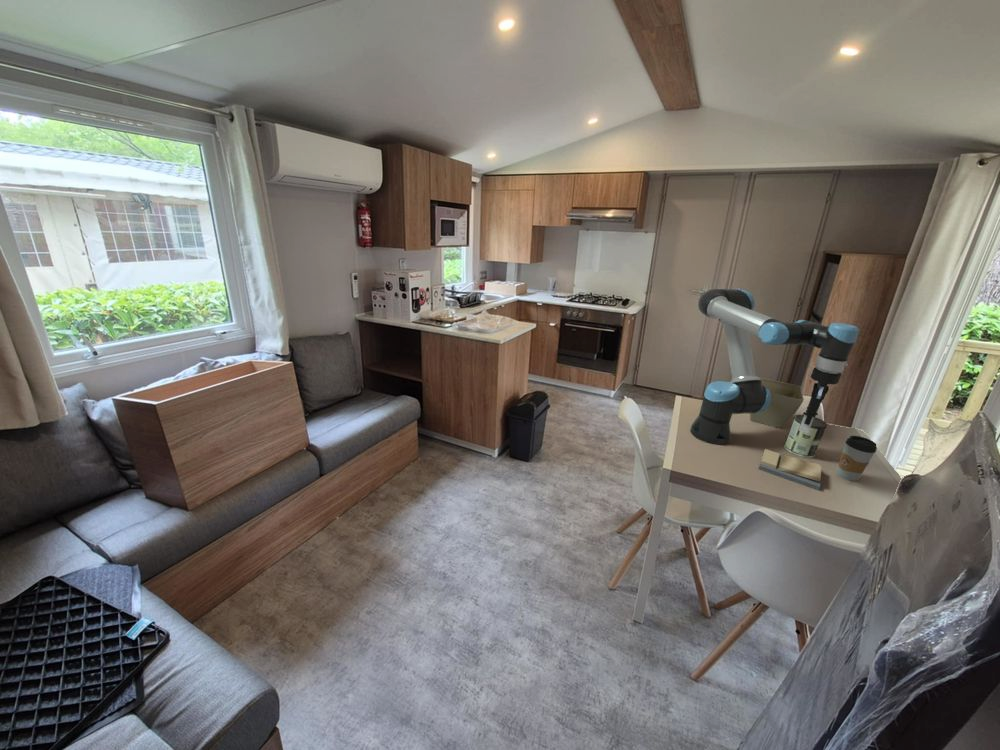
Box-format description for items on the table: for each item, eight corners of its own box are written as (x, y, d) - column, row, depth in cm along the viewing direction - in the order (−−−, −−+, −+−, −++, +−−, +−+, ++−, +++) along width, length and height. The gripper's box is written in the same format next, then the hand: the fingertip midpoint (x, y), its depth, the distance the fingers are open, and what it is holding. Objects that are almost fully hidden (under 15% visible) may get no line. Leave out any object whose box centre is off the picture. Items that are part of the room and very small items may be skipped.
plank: (778, 469, 142) (778, 466, 142) (781, 457, 150) (781, 454, 150) (819, 481, 135) (820, 478, 135) (820, 467, 143) (821, 465, 143)
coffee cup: (826, 469, 147) (841, 434, 141) (846, 469, 147) (862, 434, 142) (846, 483, 139) (863, 447, 133) (867, 483, 140) (885, 447, 134)
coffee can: (806, 446, 162) (818, 416, 157) (819, 459, 153) (833, 428, 147) (779, 442, 164) (790, 412, 159) (791, 455, 154) (803, 424, 149)
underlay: (758, 469, 144) (760, 462, 143) (763, 452, 155) (765, 446, 154) (818, 490, 134) (821, 483, 133) (819, 471, 145) (822, 465, 144)
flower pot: (791, 434, 171) (804, 399, 165) (741, 421, 180) (752, 388, 174) (789, 418, 186) (801, 386, 180) (743, 407, 195) (753, 376, 189)
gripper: (842, 378, 123) (815, 442, 132) (842, 368, 133) (817, 428, 142) (813, 371, 128) (789, 434, 136) (814, 362, 137) (792, 421, 146)
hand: (803, 431), depth 139 cm, fingers closed
